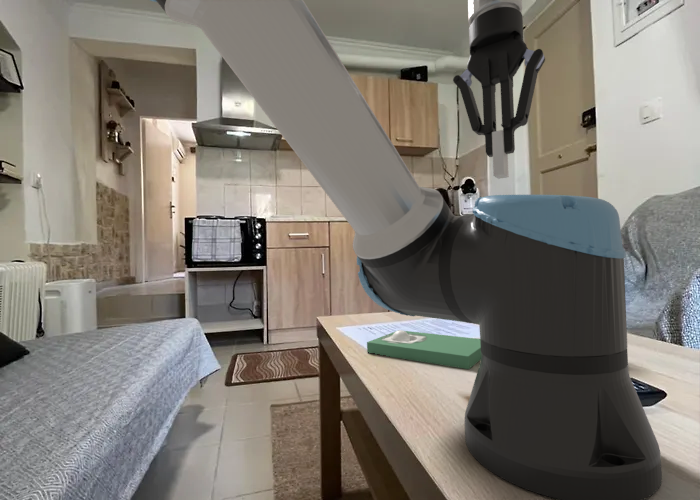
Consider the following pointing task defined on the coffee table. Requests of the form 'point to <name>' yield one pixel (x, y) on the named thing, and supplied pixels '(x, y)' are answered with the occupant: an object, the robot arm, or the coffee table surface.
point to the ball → (400, 336)
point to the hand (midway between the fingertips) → (501, 176)
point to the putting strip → (430, 349)
